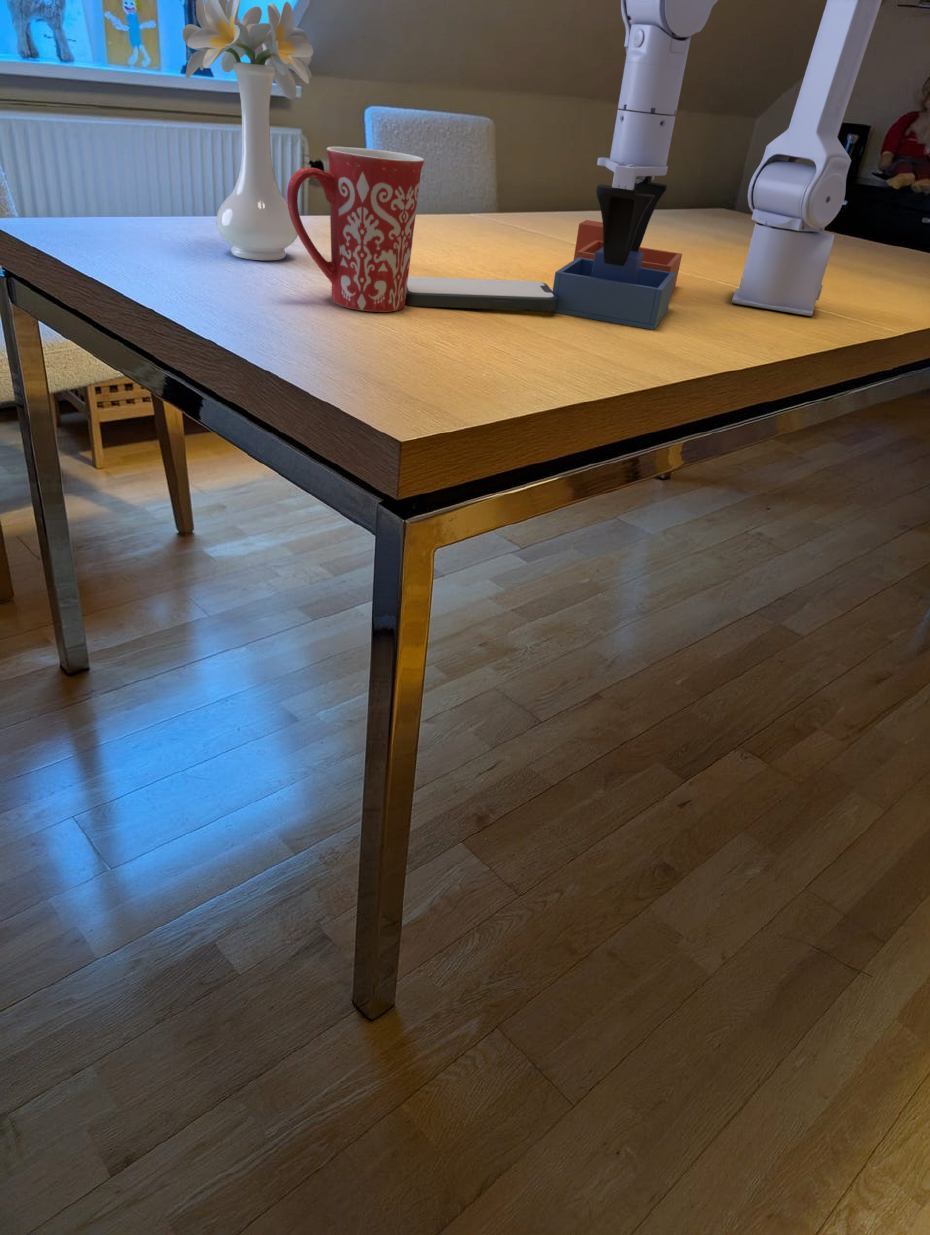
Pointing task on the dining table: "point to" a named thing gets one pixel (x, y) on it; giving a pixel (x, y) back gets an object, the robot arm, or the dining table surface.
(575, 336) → the dining table surface
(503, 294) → the phone case
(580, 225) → the terracotta block
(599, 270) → the blue block
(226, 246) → the dining table surface
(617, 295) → the blue bin
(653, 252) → the terracotta bin
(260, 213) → the flower vase
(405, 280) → the mug
